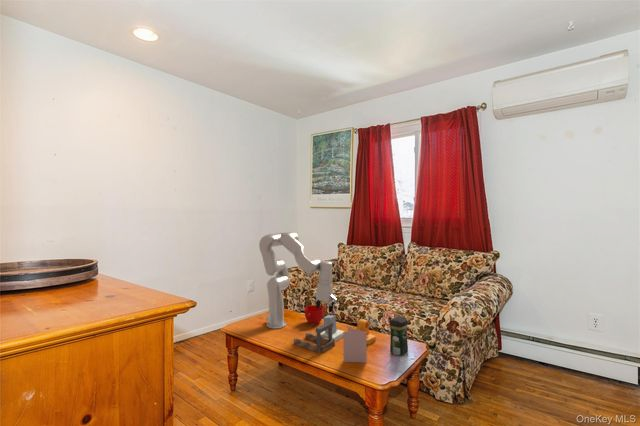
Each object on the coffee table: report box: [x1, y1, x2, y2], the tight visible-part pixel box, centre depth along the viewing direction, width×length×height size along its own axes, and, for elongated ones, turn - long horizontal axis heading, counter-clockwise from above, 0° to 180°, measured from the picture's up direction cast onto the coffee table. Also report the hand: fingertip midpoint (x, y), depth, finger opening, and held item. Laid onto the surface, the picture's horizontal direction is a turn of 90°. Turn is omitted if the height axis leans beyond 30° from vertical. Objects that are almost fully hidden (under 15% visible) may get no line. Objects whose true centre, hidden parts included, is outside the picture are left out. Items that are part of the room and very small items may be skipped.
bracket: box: [356, 318, 377, 346], centre depth 182 cm, size 11×7×12 cm, turn 134°
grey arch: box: [315, 322, 333, 346], centre depth 174 cm, size 3×12×9 cm, turn 142°
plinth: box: [321, 329, 346, 342], centre depth 190 cm, size 12×12×2 cm
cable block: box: [323, 314, 338, 333], centre depth 190 cm, size 5×5×9 cm
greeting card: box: [342, 326, 368, 363], centre depth 159 cm, size 11×7×15 cm, turn 48°
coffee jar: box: [389, 315, 409, 357], centre depth 168 cm, size 10×8×19 cm
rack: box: [292, 332, 336, 355], centre depth 179 cm, size 20×12×3 cm, turn 52°
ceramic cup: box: [303, 304, 325, 326], centre depth 211 cm, size 13×17×10 cm
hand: (324, 309), depth 193 cm, fingers open, 9 cm apart
